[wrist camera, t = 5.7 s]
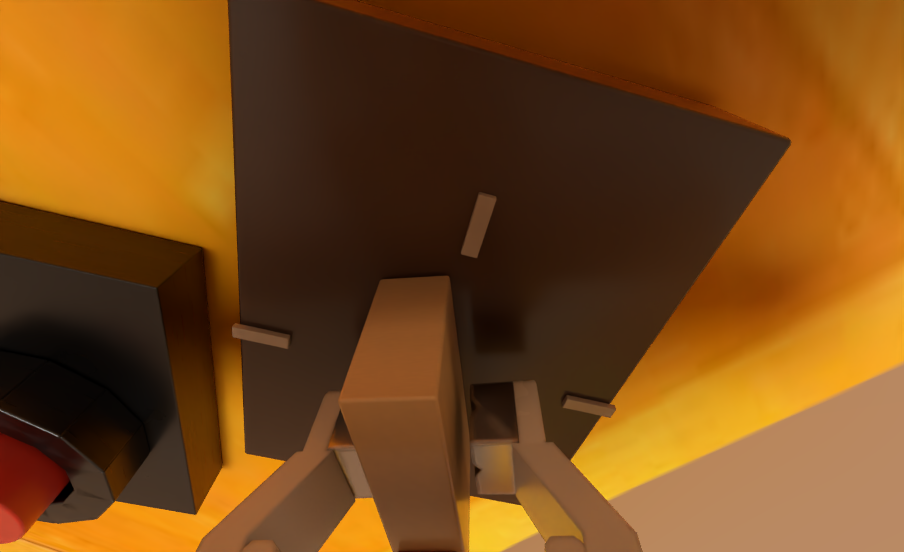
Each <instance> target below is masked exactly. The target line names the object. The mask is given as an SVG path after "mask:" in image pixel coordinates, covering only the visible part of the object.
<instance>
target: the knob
mask: <svg viewBox="0 0 904 552" xmlns="http://www.w3.org/2000/svg"><path fill="white" fill-rule="evenodd" d="M338 404H339V406H340V409H341V412H342V414H343V417H344V420H345V423H346V425H347V428H348V431H349V434H350V436H351V439H352V442H353V444H354V447H355V450H356V453H357V455H358V458H359V461H360V463H361V466H362V469H363V472H364V474H365V477H366V480H367V482H368V485H369V488H370V491H371V493H372V496H373V499H374V502H375V504H376V507H377V510H378V512H379V515H380V518H381V521H382V523H383V526H384V529H385V531H386V534H387V537H388V540H389V542H390V545H391V548H392V550H393V552H469V508H470V444H469V428H468V420H467V412H466V404H465V396H464V388H463V380H462V372H461V364H460V356H459V347H458V339H457V331H456V323H455V315H454V307H453V299H452V291H451V283H450V278H449V276H447V275H446V276H430V277H413V278H396V279H382V280H380V282H379V285H378V287H377V290H376V293H375V296H374V299H373V302H372V305H371V307H370V310H369V313H368V316H367V319H366V322H365V325H364V327H363V330H362V333H361V336H360V339H359V342H358V345H357V347H356V350H355V353H354V356H353V359H352V362H351V365H350V367H349V370H348V373H347V376H346V379H345V382H344V385H343V387H342V390H341V393H340V396H339V399H338Z"/></svg>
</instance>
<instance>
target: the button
mask: <svg viewBox="0 0 904 552" xmlns="http://www.w3.org/2000/svg"><path fill="white" fill-rule="evenodd" d="M69 481H70V480H69V477H68V475H67V473H66V471H65V470H64V469H63V468H61V467H60V466H59V465H58V464H56V463H55V462H54V461H52V460H51V459H50V458H48V457H47V456H46V455H44V454H43V453H42V452H41V451H39V450H38V449H37V448H35V447H32V446H30V445H28V444H26V443H23V442H21V441H19V440H16V439H14V438H12V437H9V436H7V435H5V434H2V433H0V544H4V543H10V542H14V541H16V540H18V539H20V538H21V537H22V536H24V535H25V533H26V532H27V531H28V530H29V529H30V528H31V526H32V525H33V524H34V523H35V522H36V521H37V519H38V518H39V517H40V516H41V515H42V514H43V512H44V511H45V510H46V509H47V508H48V507H49V505H50V504H51V503H52V502H53V501H54V500H55V498H56V497H57V496H58V495H59V494H60V492H61V491H62V490H63V489H64V488H65V487H66V485H67V484H68V483H69Z"/></svg>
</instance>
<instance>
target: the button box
mask: <svg viewBox="0 0 904 552" xmlns="http://www.w3.org/2000/svg"><path fill="white" fill-rule="evenodd" d="M0 433H2V434H5V435H7V436H9V437H12V438H14V439H16V440H19V441H21V442H23V443H26V444H28V445H30V446H32V447H35V448H37V449H38V450H39V451H41V452H42V453H43V454H44V455H46V456H47V457H48V458H50V459H51V460H52V461H54V462H55V463H56V464H58V465H59V466H60V467H61V468H63V469H64V470H65V471H66V473H67V475H68V477H69V480H70V481H69V483H68V484H67V485H66V487H65V488H64V489H63V490H62V491H61V492H60V494H59V495H58V496H57V497H56V498H55V500H54V501H53V502H52V503H51V504H50V505H49V507H48V508H47V509H46V510H45V511H44V512H43V514H42V515H41V516H40V517H39V518H38V519H37V521H43V522H49V523H57V524H60V523H69V522H77V521H86V520H94V519H98V518H99V517H100V516H101V515H102V514H103V513H104V512H105V511H106V510H107V509H108V508H109V507H110V506H111V505H112V504H113V503H114V502H115V501H118V502H124V503H130V504H136V505H141V506H147V507H153V508H159V509H165V510H170V511H176V512H182V513H188V514H194V515H196V514H197V512H198V510H199V508H200V507H201V505H202V503H203V501H204V499H205V497H206V496H207V494H208V492H209V490H210V488H211V487H212V485H213V483H214V481H215V479H216V477H217V476H218V474H219V472H220V470H221V468H222V458H221V447H220V436H219V425H218V415H217V404H216V393H215V382H214V371H213V361H212V350H211V339H210V328H209V317H208V307H207V296H206V285H205V274H204V263H203V252H202V248H199V247H195V246H191V245H186V244H182V243H178V242H173V241H169V240H165V239H161V238H156V237H152V236H148V235H143V234H139V233H135V232H130V231H126V230H122V229H117V228H113V227H109V226H104V225H100V224H96V223H91V222H87V221H83V220H78V219H74V218H70V217H65V216H61V215H57V214H53V213H48V212H44V211H40V210H35V209H31V208H27V207H22V206H18V205H14V204H9V203H5V202H1V201H0Z"/></svg>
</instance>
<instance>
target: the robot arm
mask: <svg viewBox="0 0 904 552" xmlns="http://www.w3.org/2000/svg"><path fill="white" fill-rule="evenodd" d="M340 393H341V391H328V392H327V394H326V395H325V396H324V398H323V400H322V403H321V405H320V408H319V410H318V413H317V416H316V418H315V421H314V423H313V426H312V428H311V431H310V434H309V436H308V439H307V441H306V444H305V446H304V449H303V451H299V452H296V453H294V454H293V455H292V456H291V457H290V458H289V459H288V460H287V461H286V462H285V463H284V464H283V465H282V466H280V467H279V468H278V469H277V470H276V471H275V472H274V473H273V474H272V475H271V476H270V477H269V478H267V479H266V480H265V481H264V482H263V483H262V484H261V485H260V486H259V487H258V488H257V489H256V490H254V491H253V492H252V493H251V494H250V495H249V496H248V497H247V498H246V499H245V500H244V501H243V502H241V503H240V504H239V505H238V506H237V507H236V508H235V509H234V510H233V511H232V512H231V513H230V514H228V515H227V516H226V517H225V518H224V519H223V520H222V521H221V522H220V523H219V524H218V525H217V526H216V527H214V528H213V529H212V530H211V531H210V532H209V533H208V534H207V535H206V536H205V537H204V538H203V539H202V541H201V542H200V544H199V546H198V548H197V550H196V552H318V551H319V550H320V548H321V547H322V546H323V544H324V543H325V541H326V540H327V539H328V537H329V536H330V535H331V533H332V532H333V531H334V529H335V528H336V527H337V525H338V524H339V522H340V521H341V520H342V518H343V517H344V516H345V514H346V513H347V512H348V510H349V509H350V508H351V506H352V505H353V503H354V502H355V498H372V497H373V496H372V493H371V491H370V488H369V485H368V482H367V480H366V477H365V474H364V472H363V469H362V466H361V463H360V461H359V458H358V455H357V453H356V450H355V447H354V444H353V442H352V439H351V436H350V434H349V431H348V428H347V425H346V423H345V420H344V417H343V414H342V412H341V409H340V406H339V404H338V399H339V396H340ZM470 403H471V411H472V413H471V415H470V432H469V444H470V450H471V457H472V463H473V465H475V481H476V487H477V492H478V494H516V497H517V499H518V500H519V502H520V503H521V505H522V507H523V508H524V510H525V511H526V513H527V514H528V516H529V517H530V519H531V520H532V522H533V523H534V525H535V527H536V528H537V530H538V531H539V533H540V534H541V536H542V537H543V539H544V540H545V542H546V543H545V552H642V549H641V545H640V542H639V539H638V535H637V533H636V532H635V531H634V529H633V528H632V527H631V526H630V525H629V524H628V523H627V522H626V521H625V520H624V519H623V518H622V517H621V516H620V515H619V513H618V512H617V511H616V510H615V509H614V508H613V507H612V506H611V505H610V503H608V501H607V500H606V499H605V498H604V497H603V496H602V495H601V494H600V493H599V491H598V490H597V489H596V488H595V487H594V486H593V485H592V484H591V483H590V482H589V481H588V480H587V478H586V477H585V476H584V475H583V474H582V473H581V472H580V471H579V470H578V469H577V468H576V467H575V465H574V464H573V463H572V462H571V461H570V460H569V459H568V458H567V457H566V456H565V455H564V453H563V452H562V451H561V450H560V449H559V448H558V447H557V446H556V445H555V444H554V443H553V442H546V439H545V433H544V427H543V421H542V414H541V408H540V402H539V396H538V390H537V384H536V382H535V381H534V380H530V381H513V382H512V381H509V382H494V383H479V384H471V385H470Z"/></svg>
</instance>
